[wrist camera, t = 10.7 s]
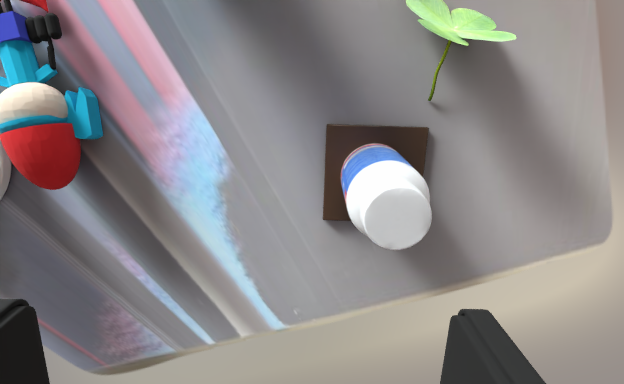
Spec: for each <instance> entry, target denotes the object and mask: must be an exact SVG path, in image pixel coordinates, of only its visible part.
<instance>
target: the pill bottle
mask: <svg viewBox="0 0 624 384" xmlns="http://www.w3.org/2000/svg"><path fill="white" fill-rule="evenodd" d="M341 185H342V189H343V194H344V198H345V202H346V206H347V210H348V214H349V217H350V219H351V221H352V223H353V224H354V225H355V227H356V228H357V229H358V230H359V231H360V232H361V233H363V234H364V235H366V236H368V237H369V238H370V239H371V240H372V241H373V242H374V243H375V244H377V245H378V246H380V247H382V248H385V249H389V250H402V249H406V248H409V247H412V246H414V245H415V244H417V243H418V242H420V241H421V240H422V239H423V238H424V236H425V235H426V234H427V232H428V230H429V228H430V225H431V221H432V211H431V207H430V194H429V189H428V186H427V184H426V182H425V180H424V179H423V177H422V176H421V175H420V174H419V173H418V172H417V171H416V170H415V169H414V168H413V167H412V166H411V165H410V164H409V163H408V162H407V161H406V160H405V159H404V158H403V157H402V156H401V155H400V154H399V153H398V152H397V151H396V150H394V149H393V148H391V147H389V146H387V145H383V144H367V145H364V146H361V147H359V148H357V149H356V150H354V151H353V152H352V153H351V154H350V155H349V156H348V157H347V159H346V160H345V162H344V164H343V166H342V170H341Z"/></svg>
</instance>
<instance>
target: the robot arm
mask: <svg viewBox="0 0 624 384" xmlns="http://www.w3.org/2000/svg"><path fill="white" fill-rule="evenodd" d="M0 134H2V133H1V132H0ZM10 176H11V160H10V158H9V156H8V155H7V153H6V151H5V150H4V147H3V145H2V142H1V140H0V200H1V199H2V197H3V195H4V193H5V192H6V190H7V187H8V184H9V180H10ZM0 384H50V383H49V378H48V372H47V367H46V362H45V357H44V352H43V346H42V341H41V336H40V331H39V325H38V320H37V315H36V311H35V309H34V308H33V307H31V306H29V303H28V302H27V301H26V300H23V299H0ZM440 384H546V383H545V382H544V381H543V379H542V378H541V377H540V376H539V374H538V373H537V372H536V370H535V369H534V368H533V367H532V365H531V364H530V363H529V362H528V360H527V359H526V358H525V356H524V355H523V354H522V352H521V351H520V350H519V349H518V347H517V346H516V345H515V343H514V342H513V341H512V340H511V338H510V337H509V336H508V334H507V333H506V332H505V331H504V329H503V328H502V327H501V326H500V324H499V323H498V322H497V320H496V319H495V318H494V316H493V315H492V314H491V313H490V312H489V311H488V310H483V309H480V310H479V309H462V310H460V311H459V313H458V315H455V316H452V317H451V320H450V325H449V331H448V338H447V344H446V350H445V356H444V363H443V369H442V375H441V381H440Z"/></svg>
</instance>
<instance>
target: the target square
mask: <svg viewBox="0 0 624 384" xmlns="http://www.w3.org/2000/svg"><path fill="white" fill-rule="evenodd" d="M428 129H429V128H427V127H399V126H367V125H336V124H327V133H326V157H325V182H324V207H323V220H343V221H351V219H350V217H349V214H348V210H347V206H346V202H345V198H344V194H343V189H342V185H341V170H342V166H343V164H344V162H345V160H346V159H347V157H348V156H349V155H350V154H351V153H352V152H353V151H354V150H356V149H357V148H359V147H361V146H364V145H367V144H383V145H387V146H389V147H391V148H393V149H394V150H396V151H397V152H398V153H399V154H400V155H401V156H402V157H403V158H404V159H405V160H406V161H407V162H408V163H409V164H410V165H411V166H412V167H413V168H414V169H415V170H416V171H417V172H418V173H419V174H420V175H421V176H422V177H423V173H424V164H425V155H426V147H427V138H428Z"/></svg>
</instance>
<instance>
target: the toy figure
mask: <svg viewBox="0 0 624 384" xmlns="http://www.w3.org/2000/svg"><path fill="white" fill-rule="evenodd" d="M0 1H1V0H0ZM21 1H24V2H27V3H30V4H33V5H35V6H38V7H41V8H43V9H44V10H45V11H47V12H48V7H47V2H46V0H21ZM4 3H5V7H6V10H7V12H6V13H3V10H2V6H1V3H0V58H1V61H2V64H3V67H4V71H5V74H6V77H7V78H3V77H0V86H4V87H8V89H6V90H4V91H3V92H2V93H1V94H0V132H1V133H2V134H0V140H1V142H2V145H3V147H4V150H5V151H6V153H7V155H8V156H9V158H10V160H11V162H12V163H13V165H14V166H15V167H16V168H17V170H18V171H19V172H20V173H21V174H22V175H23V176H24V177H25V178H26V179H28V180H29V181H30V182H32V183H33V184H35V185H37V186H39V187H41V188H45V189H50V190H56V189H60V188H63V187H65V186H67V185H68V184H69V183H70V182H71V181H72V180H73V178H74V177H75V175H76V173H77V170H78V168H79V163H80V155H81V145H80V139H98V138H100V137H102V136H103V130H102V124H101V118H100V112H99V105H98V99H97V97H96V96H95V95H94V93H93V92H92V91H91V90H88V89H85V88H81V87H79V89H78V93H76V92H72V91H68V90H66V93H65V97H64V96H63V95H62V94H61V93H60V92H59V91H58V90H57V89H55V88H53V87H51V86H49V85H47V84H44V83H46V82H47V81H48V80H50V79H51V78H52V77H54V76H55V75H56V74H58V72H57V71H56V62H55V55H54V48H53V44H52V40H51V38H53V39H60V38H61V36H62V32H61V28H60V24H59V20H58V17H57V16H56V15H55V14H53V13H48V14H46V15H45V17H43V16H41V15H38V16H35V18H33V17H28V18H26V17H24V16H22V15H20V14H18V13H16V12H13V9H12V5H11V2H10V0H4ZM42 41H48V44H49V46H48V47H47V49H48V57H49V64H50V65H49V64H45V65H44V66H43V67H41V68H39V64H38V61H37V58H36V55H35V51H34V48H33V45H32V42H33V43H36V44H37V43H40V42H42Z"/></svg>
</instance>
